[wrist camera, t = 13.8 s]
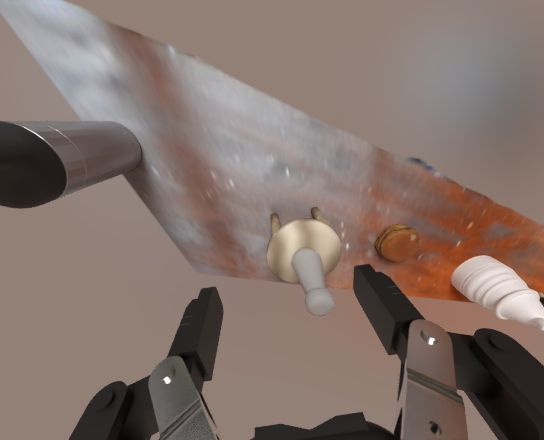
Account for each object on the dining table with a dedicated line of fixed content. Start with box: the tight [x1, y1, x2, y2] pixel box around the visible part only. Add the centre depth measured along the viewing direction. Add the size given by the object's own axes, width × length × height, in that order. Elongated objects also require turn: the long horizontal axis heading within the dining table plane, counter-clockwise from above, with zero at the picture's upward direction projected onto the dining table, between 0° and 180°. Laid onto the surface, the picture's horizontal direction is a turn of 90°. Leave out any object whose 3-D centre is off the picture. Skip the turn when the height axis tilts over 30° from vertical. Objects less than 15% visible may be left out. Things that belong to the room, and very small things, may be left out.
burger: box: [375, 224, 421, 262], centre depth 51 cm, size 10×9×5 cm
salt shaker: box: [291, 247, 335, 316], centre depth 35 cm, size 6×6×13 cm
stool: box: [267, 207, 341, 283], centre depth 45 cm, size 15×15×10 cm
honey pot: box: [451, 255, 544, 331], centre depth 52 cm, size 13×13×18 cm
